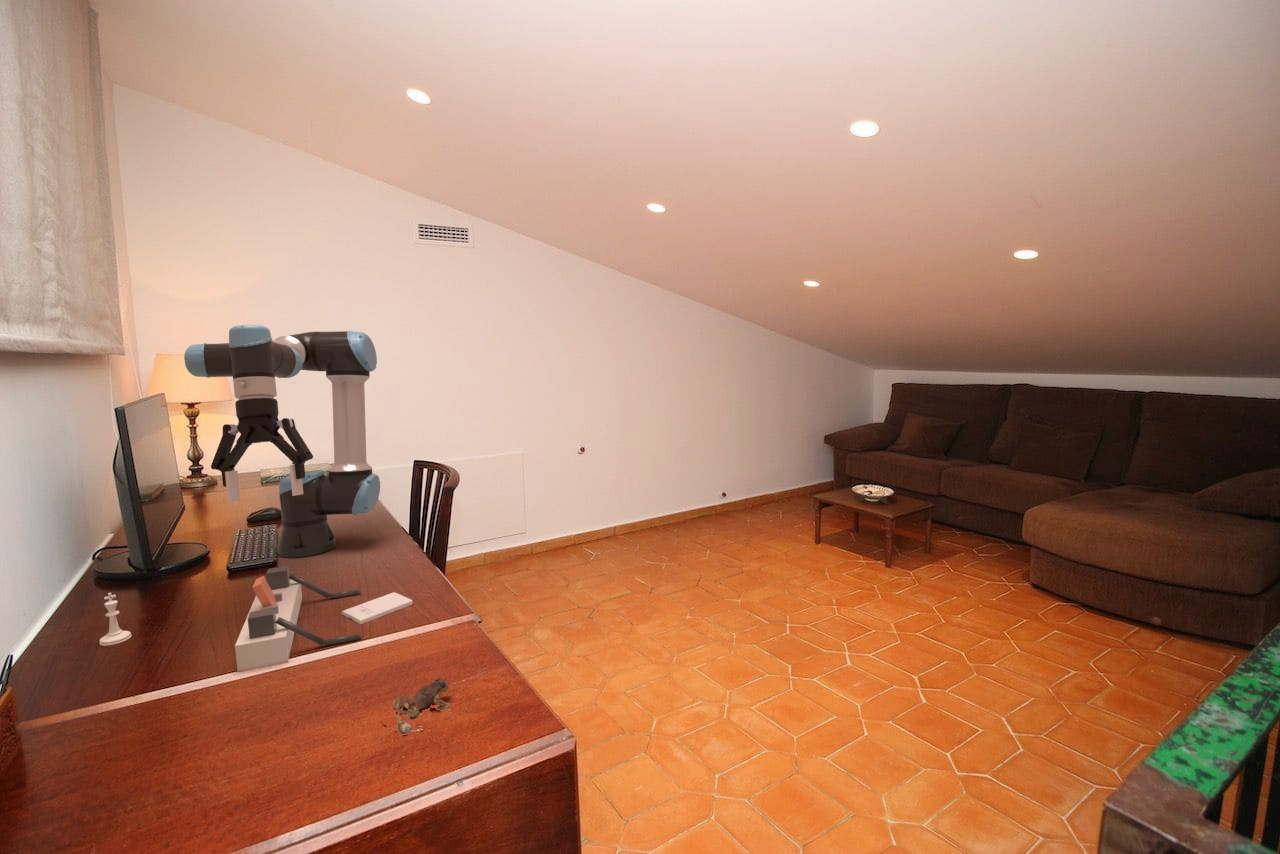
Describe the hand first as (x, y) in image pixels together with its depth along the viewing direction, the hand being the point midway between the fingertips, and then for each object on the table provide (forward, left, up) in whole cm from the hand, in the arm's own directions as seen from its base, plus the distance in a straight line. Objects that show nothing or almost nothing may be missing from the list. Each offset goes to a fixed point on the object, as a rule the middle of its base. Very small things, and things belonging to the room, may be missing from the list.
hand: (266, 498), depth 123 cm
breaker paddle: (+2, +4, -23) cm, 23 cm away
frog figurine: (+2, +53, -28) cm, 61 cm away
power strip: (-3, +7, -28) cm, 28 cm away
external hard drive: (-16, +13, -28) cm, 35 cm away
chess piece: (+22, -19, -28) cm, 41 cm away
